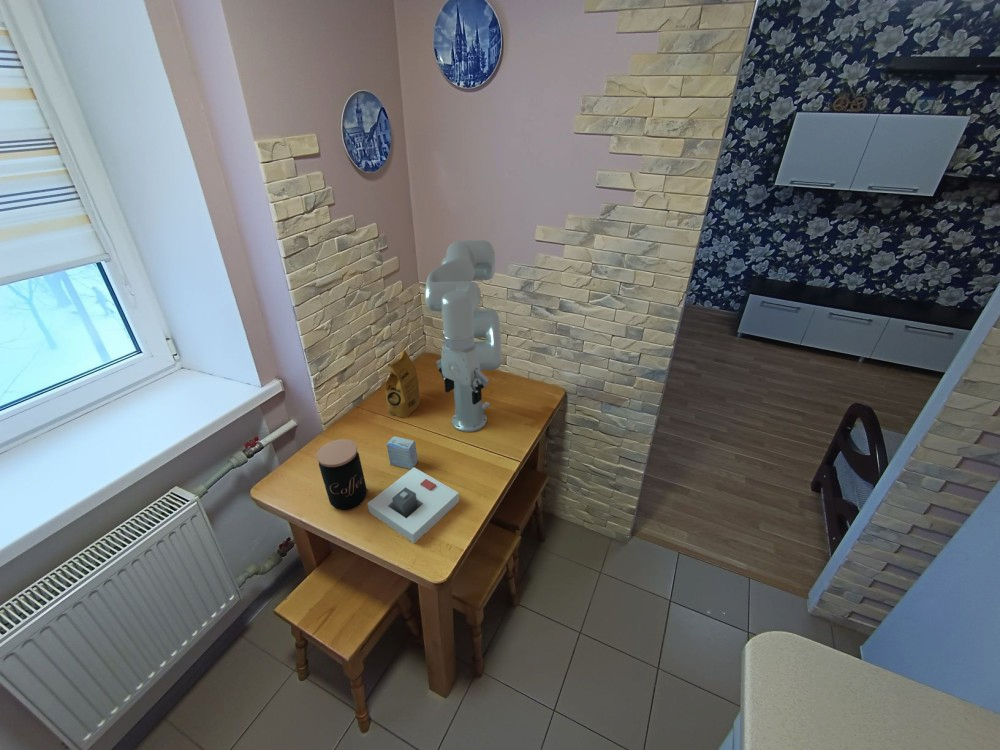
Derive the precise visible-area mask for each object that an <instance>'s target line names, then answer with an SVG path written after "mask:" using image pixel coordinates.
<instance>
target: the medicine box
mask: <svg viewBox="0 0 1000 750" xmlns="http://www.w3.org/2000/svg"><path fill="white" fill-rule="evenodd" d="M386 448H387V454H388V459H389V463H390V465H392V466H395V467H400V468H404V469H408V470H411V469H412V468H415V466H416V464H417V463H418V461H419V457H418V451H417V445H416V441H415V440H412V439H407V438H403V437H399V436H395V435H394V436H392V437H391V439H389V440H388V442H387V443H386Z"/></svg>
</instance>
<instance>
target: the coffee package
mask: <svg viewBox="0 0 1000 750" xmlns="http://www.w3.org/2000/svg"><path fill="white" fill-rule="evenodd" d="M387 367H389V368H390V371H389V377H387V379H386V382H385V385H384V394H385V398H386V405H387V406H386V407H387V411H388V413H389V414H390V416H396V417H399V418H401V419H402V418H404V419H406V418H409V417H410V415H411V414H412V413H413V412H414V411H417V409H418V407H419V406H420V404H421V396H420V385H419V378H418V374H417V373H418V372H417V370H416V367H415V364H414V362H413V361H412V360H411V357H410V356H409V354H408V353H407V351H406V350H402V351H400V354H399V359H397V360H395V361H392V362H389V363H388V364H387Z"/></svg>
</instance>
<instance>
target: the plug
mask: <svg viewBox="0 0 1000 750" xmlns="http://www.w3.org/2000/svg"><path fill="white" fill-rule="evenodd" d="M392 500H393V506H394V511H396V512H397V513H399V514H400V515H402V516H403V517H405V518H408V517H409V516H410V515H411V514H412V513H413V512H414V511H416V510H417V509H418V505H417V499H416V493H414V492H413V491H411V490H409V489H408V488H406V487H405V488H404V489H403V490H402V491H400V492H399V493H398V494H397V495H395V496H394V497H393V498H392Z"/></svg>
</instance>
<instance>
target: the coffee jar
mask: <svg viewBox="0 0 1000 750" xmlns="http://www.w3.org/2000/svg"><path fill="white" fill-rule="evenodd" d="M316 459H317V462H318V466H319V471H320V474H321V477H322V481H323V484H324V487H325V491H326V493H327V498H328V501H329V504H330V505H331V507H332V508H334V509H336V510H339V511H350V510H353V509H356V508H358V507H359V506H360V505H361V504H363V502H364V501H365V499H366V497H367V494H368V489H367V488H368V487H367V485H366V484H367V483H366V480H365V475H364V471H363V466H362V462H361V458H360V454H359V452H358V446H357V444H356V443H355V442H354V441H353V440H350V439H346V438H342V439H341V438H340V439H334V440H332V441H329V442H327V443H325V444H324V445H322V446H321V447H320V448H319V449H318V451H317V453H316Z"/></svg>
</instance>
